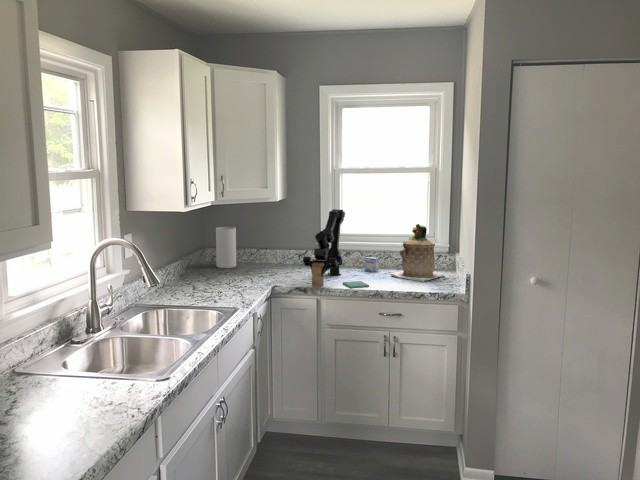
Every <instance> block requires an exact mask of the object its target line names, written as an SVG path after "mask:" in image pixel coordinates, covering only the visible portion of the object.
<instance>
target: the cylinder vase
mask: <svg viewBox="0 0 640 480" xmlns="http://www.w3.org/2000/svg"><path fill="white" fill-rule="evenodd" d="M236 228H237V227H235V226H218V227H215V244H216V245H215V247H216V248H215V253H216V255H215V256H216V258H215V259H216V262H215V263H216V268H219V269H232V268H235V267H236V266H237V229H236Z"/></svg>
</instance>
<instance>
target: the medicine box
mask: <svg viewBox="0 0 640 480" xmlns="http://www.w3.org/2000/svg"><path fill="white" fill-rule="evenodd" d="M379 263H380V258H378V257H371V256H370V257H369V256H366V257H364V272H367V273H378V272H379V270H380V268H379V266H380V265H379Z"/></svg>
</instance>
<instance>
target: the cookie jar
mask: <svg viewBox="0 0 640 480" xmlns="http://www.w3.org/2000/svg"><path fill="white" fill-rule="evenodd" d="M412 233H413V235H412V236H411V237H409V238H408V239H407V240H405V239H404V241H403V244H402V247H403V250H402V249H400V250H399V251H398V253H399V255H400V257H401V258H402V260H401V265H400V266H401V267H402V270H401V271H396V272H389V275H390V276H393V277H395V278H397V279H398V278H401V279H406V280H413V281H418V282H422V283H425V281H430V280H435V279H437V278H438V277H439V278H443V277H442V276H444V277H445V273H442V272H434V270H435V260H436V259H435V246H436V242H434V241H430V240H429V239H428V238H427V227H426V226H424V225H421V224H419V223H417V224H415V226H414V227H413V228H412ZM439 278H438V279H439Z"/></svg>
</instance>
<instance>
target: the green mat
mask: <svg viewBox="0 0 640 480" xmlns="http://www.w3.org/2000/svg"><path fill="white" fill-rule="evenodd" d="M342 285H344V286H346V287H347V288H350V289H357V288H358V289H359V288H360V289H361V288H369V287H370V284H368V283H365V282H364V281H361V280H355V281H342Z"/></svg>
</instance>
